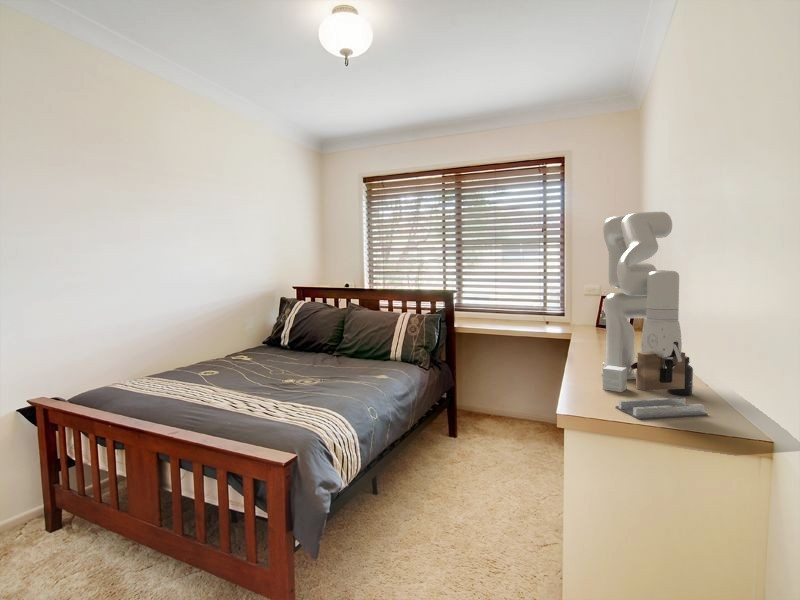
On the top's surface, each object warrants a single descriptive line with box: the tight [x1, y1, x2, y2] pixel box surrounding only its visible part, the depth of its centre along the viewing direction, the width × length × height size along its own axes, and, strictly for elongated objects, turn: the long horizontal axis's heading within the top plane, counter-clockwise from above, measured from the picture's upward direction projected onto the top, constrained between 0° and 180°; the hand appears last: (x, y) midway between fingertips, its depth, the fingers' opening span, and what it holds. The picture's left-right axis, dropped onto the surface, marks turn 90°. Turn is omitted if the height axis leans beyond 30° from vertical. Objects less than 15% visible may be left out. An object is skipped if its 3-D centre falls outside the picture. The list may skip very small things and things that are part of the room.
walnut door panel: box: [636, 351, 686, 392], centre depth 114 cm, size 3×12×10 cm, turn 97°
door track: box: [615, 396, 708, 421], centre depth 115 cm, size 10×20×2 cm, turn 97°
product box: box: [602, 365, 628, 393], centre depth 138 cm, size 6×6×7 cm
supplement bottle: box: [666, 355, 694, 397], centre depth 132 cm, size 7×7×12 cm
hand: (660, 380), depth 114 cm, fingers closed on walnut door panel, 3 cm apart
